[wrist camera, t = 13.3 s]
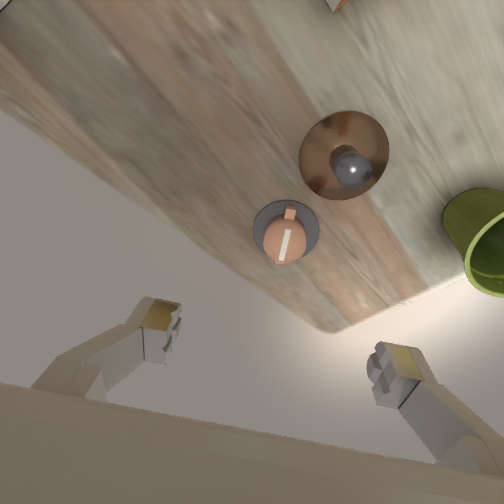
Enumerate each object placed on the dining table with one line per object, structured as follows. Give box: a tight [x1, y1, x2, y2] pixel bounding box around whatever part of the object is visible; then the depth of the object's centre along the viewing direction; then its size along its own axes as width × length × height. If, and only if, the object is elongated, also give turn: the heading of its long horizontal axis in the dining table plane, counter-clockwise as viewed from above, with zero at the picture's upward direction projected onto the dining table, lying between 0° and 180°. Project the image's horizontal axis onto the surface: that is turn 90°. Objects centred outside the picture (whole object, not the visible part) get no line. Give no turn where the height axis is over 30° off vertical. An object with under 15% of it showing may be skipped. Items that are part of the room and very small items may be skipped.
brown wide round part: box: [300, 111, 389, 200], centre depth 33 cm, size 11×11×8 cm
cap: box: [263, 205, 306, 264], centre depth 40 cm, size 9×6×4 cm, turn 172°
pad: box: [253, 200, 319, 258], centre depth 43 cm, size 10×10×1 cm
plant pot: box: [443, 188, 504, 298], centre depth 33 cm, size 12×12×11 cm
